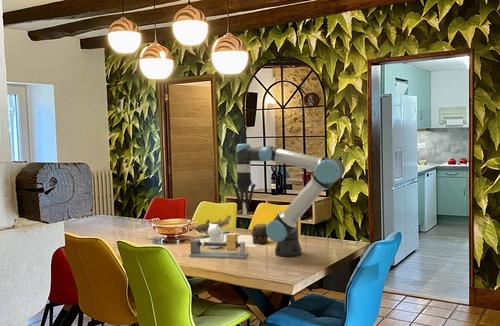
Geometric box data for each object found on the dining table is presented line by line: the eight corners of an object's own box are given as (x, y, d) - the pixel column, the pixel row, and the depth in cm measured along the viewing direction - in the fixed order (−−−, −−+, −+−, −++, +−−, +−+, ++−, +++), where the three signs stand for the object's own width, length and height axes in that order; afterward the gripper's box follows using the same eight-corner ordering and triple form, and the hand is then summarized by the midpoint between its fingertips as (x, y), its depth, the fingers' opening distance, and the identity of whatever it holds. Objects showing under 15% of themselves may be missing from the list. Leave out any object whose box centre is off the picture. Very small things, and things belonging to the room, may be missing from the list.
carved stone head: (273, 242, 314) (272, 223, 313) (261, 245, 306) (260, 226, 305) (260, 240, 321) (259, 221, 321) (248, 243, 313) (247, 224, 313)
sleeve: (237, 248, 283) (237, 233, 283) (235, 250, 279) (234, 235, 278) (229, 248, 285) (228, 233, 284) (226, 250, 280) (226, 234, 279)
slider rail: (248, 254, 285) (248, 239, 284) (244, 259, 275) (243, 243, 275) (195, 252, 293) (195, 238, 292) (189, 256, 283) (188, 242, 283)
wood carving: (235, 231, 354) (235, 215, 353) (199, 239, 327) (199, 223, 327) (226, 229, 360) (226, 214, 359) (190, 238, 333) (189, 221, 333)
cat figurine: (204, 248, 303) (203, 224, 302) (217, 244, 313) (216, 220, 312) (216, 250, 298) (215, 225, 297) (229, 245, 308) (228, 221, 307)
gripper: (256, 171, 279) (258, 213, 280) (234, 171, 282) (235, 212, 284) (253, 172, 272) (254, 215, 273) (230, 172, 275) (231, 215, 276)
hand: (244, 214), depth 278 cm, fingers closed
